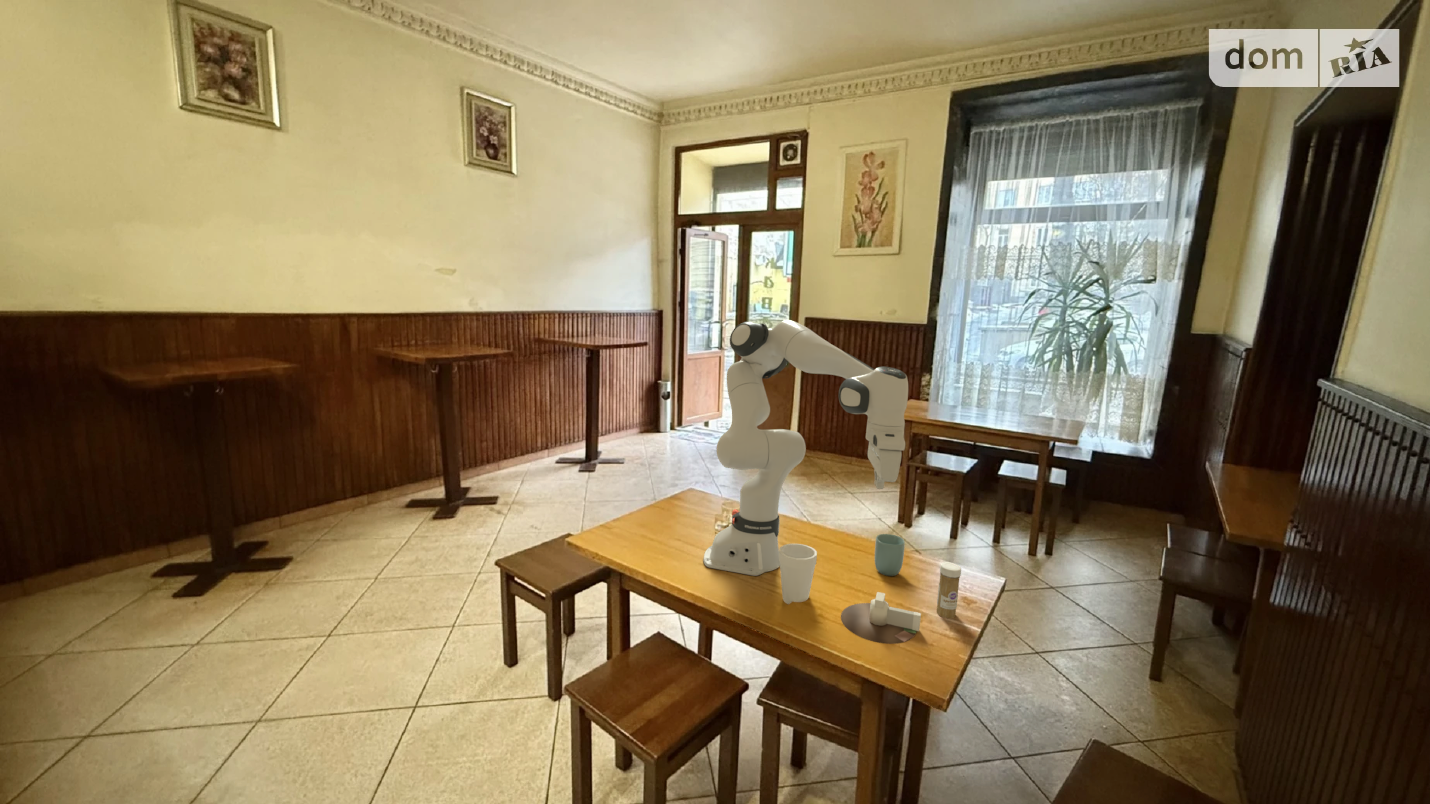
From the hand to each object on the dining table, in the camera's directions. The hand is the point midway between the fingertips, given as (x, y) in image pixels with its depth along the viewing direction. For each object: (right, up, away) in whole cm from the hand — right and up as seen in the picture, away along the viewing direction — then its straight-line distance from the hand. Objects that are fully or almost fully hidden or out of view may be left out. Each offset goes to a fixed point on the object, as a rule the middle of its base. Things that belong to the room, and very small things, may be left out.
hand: (878, 487), depth 141 cm
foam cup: (-21, -29, +1) cm, 36 cm away
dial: (-3, -31, -10) cm, 33 cm away
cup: (+8, -27, +18) cm, 33 cm away
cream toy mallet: (0, -30, -12) cm, 32 cm away
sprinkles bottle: (+15, -31, -5) cm, 35 cm away
